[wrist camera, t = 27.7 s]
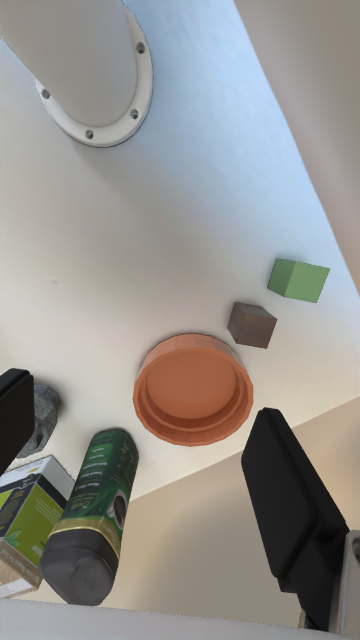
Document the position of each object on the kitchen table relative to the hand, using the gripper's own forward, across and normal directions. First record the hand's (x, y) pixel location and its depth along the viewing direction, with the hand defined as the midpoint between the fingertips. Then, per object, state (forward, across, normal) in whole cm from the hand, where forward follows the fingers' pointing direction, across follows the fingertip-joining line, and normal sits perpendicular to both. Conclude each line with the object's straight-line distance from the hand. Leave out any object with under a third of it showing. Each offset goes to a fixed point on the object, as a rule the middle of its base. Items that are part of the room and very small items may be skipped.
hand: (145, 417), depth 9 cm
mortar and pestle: (+24, +18, +22) cm, 38 cm away
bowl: (+24, -6, +14) cm, 29 cm away
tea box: (+24, +20, +43) cm, 53 cm away
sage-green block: (+24, -16, -5) cm, 29 cm away
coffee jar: (+24, +5, +31) cm, 40 cm away
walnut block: (+24, -12, +2) cm, 27 cm away
